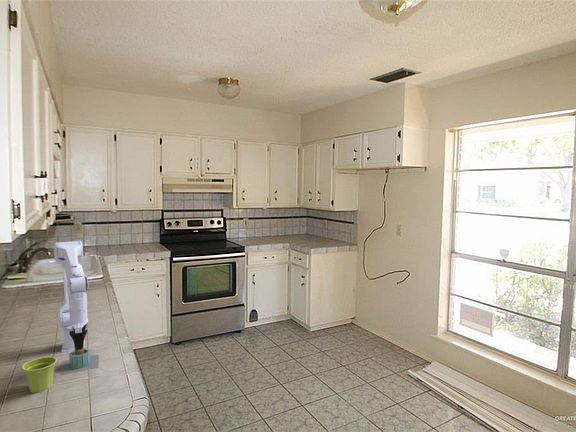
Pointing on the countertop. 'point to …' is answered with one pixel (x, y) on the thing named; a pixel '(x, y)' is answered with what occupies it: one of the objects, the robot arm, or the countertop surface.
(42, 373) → the plant pot
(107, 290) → the countertop surface
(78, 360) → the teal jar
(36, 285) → the countertop surface
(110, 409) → the countertop surface
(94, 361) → the grey mat
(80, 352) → the walnut peg
